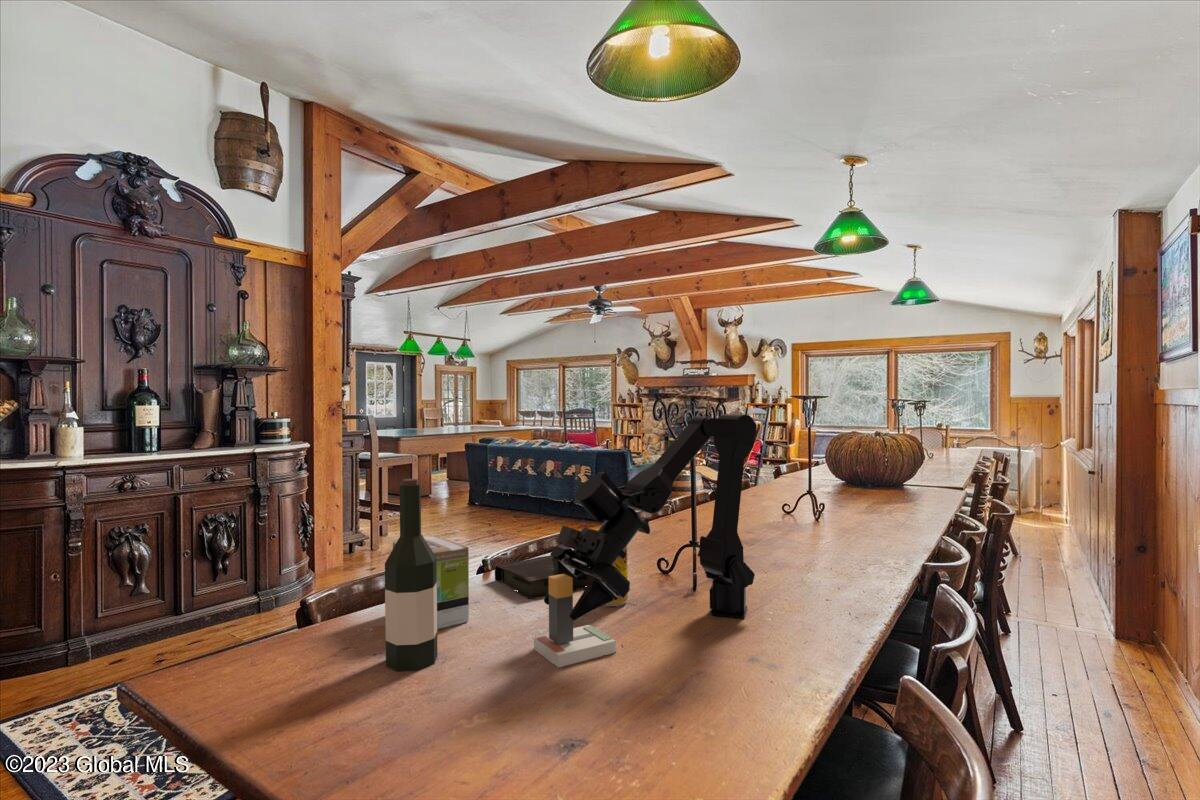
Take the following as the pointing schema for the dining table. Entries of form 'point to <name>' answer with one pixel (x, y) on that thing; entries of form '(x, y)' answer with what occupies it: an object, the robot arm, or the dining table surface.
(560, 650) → the plate
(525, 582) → the diary
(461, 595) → the tea box
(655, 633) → the dining table surface
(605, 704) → the dining table surface
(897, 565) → the dining table surface
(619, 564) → the beer can
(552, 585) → the lever
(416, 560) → the wine bottle
